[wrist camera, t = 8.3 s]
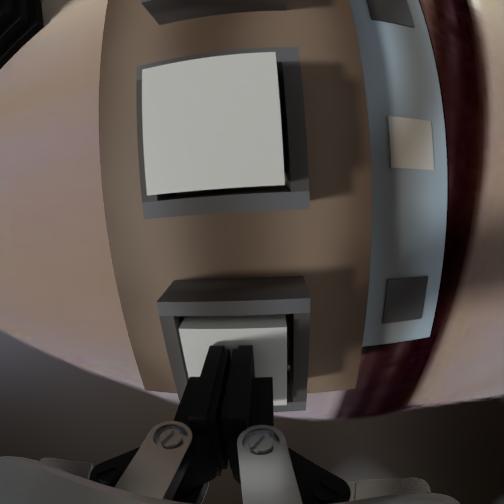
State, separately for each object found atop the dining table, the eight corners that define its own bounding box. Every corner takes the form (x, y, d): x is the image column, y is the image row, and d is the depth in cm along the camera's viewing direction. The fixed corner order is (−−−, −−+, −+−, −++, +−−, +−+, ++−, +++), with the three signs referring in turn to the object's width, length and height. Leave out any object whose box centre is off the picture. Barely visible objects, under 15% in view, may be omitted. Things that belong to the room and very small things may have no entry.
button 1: (283, 299, 13) (286, 326, 10) (284, 372, 14) (286, 405, 11) (192, 302, 13) (178, 328, 11) (204, 372, 14) (195, 404, 12)
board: (406, -26, 10) (437, -65, 5) (424, 346, 17) (460, 394, 12) (134, -22, 11) (100, -62, 6) (160, 362, 18) (131, 416, 13)
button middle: (273, 76, 9) (275, 51, 7) (280, 182, 10) (284, 185, 8) (166, 88, 10) (142, 69, 7) (171, 190, 11) (146, 195, 8)
